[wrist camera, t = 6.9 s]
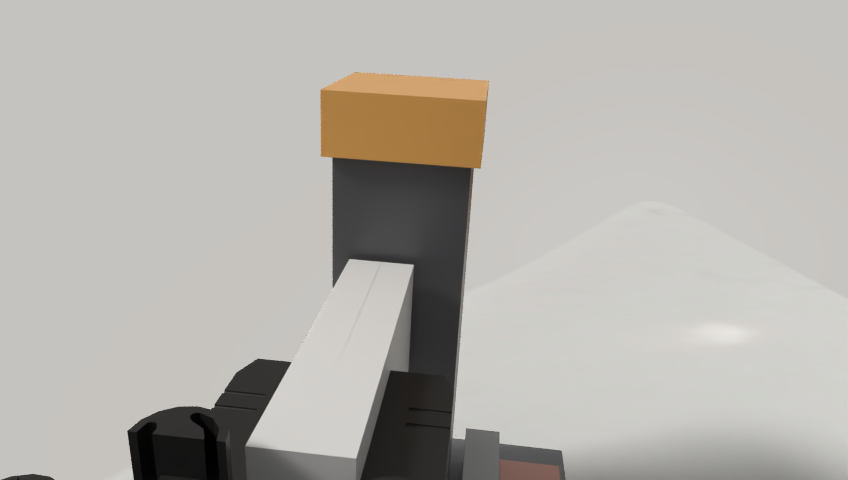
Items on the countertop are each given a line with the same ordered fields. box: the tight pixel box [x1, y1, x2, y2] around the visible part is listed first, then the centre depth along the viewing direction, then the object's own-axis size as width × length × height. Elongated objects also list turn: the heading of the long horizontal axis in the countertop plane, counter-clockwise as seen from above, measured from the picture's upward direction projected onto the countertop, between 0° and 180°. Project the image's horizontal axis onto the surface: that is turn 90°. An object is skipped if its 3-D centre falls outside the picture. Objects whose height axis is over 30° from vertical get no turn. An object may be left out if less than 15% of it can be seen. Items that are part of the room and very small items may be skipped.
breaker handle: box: [321, 72, 489, 480], centre depth 17 cm, size 3×3×11 cm
